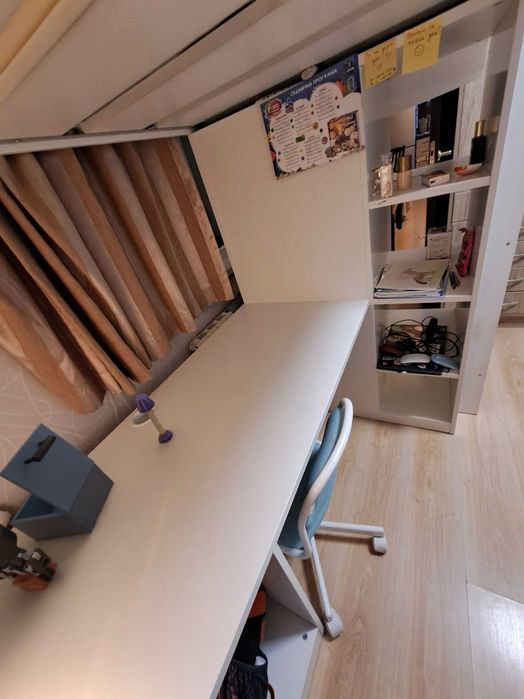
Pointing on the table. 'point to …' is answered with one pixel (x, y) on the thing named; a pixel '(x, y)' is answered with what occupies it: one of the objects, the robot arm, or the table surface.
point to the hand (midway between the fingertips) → (41, 577)
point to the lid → (49, 468)
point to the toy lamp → (152, 416)
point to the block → (30, 581)
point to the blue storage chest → (52, 522)
